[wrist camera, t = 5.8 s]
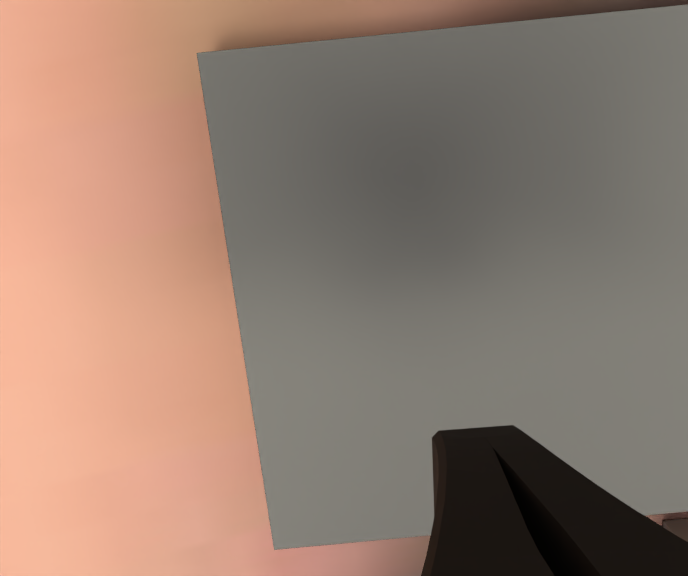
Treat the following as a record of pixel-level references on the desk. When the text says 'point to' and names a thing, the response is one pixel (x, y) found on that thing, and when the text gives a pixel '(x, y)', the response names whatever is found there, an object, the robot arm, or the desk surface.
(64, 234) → the desk surface
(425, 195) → the slate plate
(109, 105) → the desk surface
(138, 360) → the desk surface
